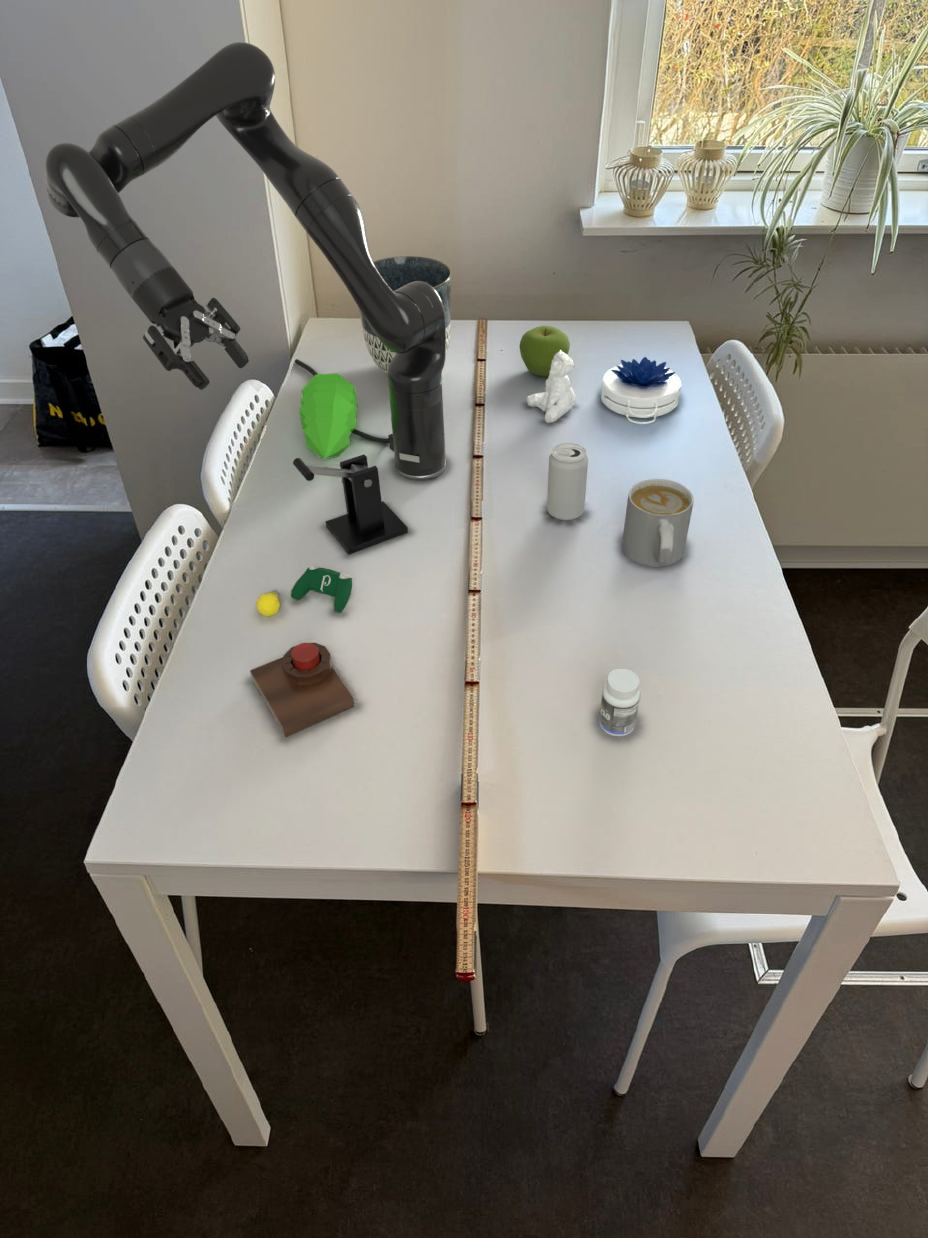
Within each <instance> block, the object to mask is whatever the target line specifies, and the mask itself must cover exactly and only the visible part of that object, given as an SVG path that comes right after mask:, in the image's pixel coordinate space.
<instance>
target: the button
mask: <svg viewBox="0 0 928 1238" xmlns="http://www.w3.org/2000/svg"><path fill="white" fill-rule="evenodd" d="M311 643H312V642H302V644H301V643H298V644H297V646H296V645H295V646H296V647H295V648H294V649H293V650H292V653H291V655H292V660H293V664H294V666H295V667H296V668H297V669H299V670H310V669H312V668H314V667H316V666H317V665H318V663H319V661H320V657H319V652H318V648H317V647H316V646H315V645H314V644H311Z"/></svg>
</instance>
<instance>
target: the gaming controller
mask: <svg viewBox="0 0 928 1238" xmlns="http://www.w3.org/2000/svg"><path fill="white" fill-rule="evenodd" d="M290 591H291V592H290V597H291V599H293V600H296V601H299V600H302V599H303V598H304V597H305V596H306V595H307V594H308V593H310V592H311V591H312V592H313V591H314V592H316V593H320V594H323V595H326V596H329V597H332V598H334V599H333V609H334V612H335V613H338V614H341V613H342V612H343V611H344V610H345V608H346V607H347V604H348V602H349V600H350V598H351V595H352V591H353V578H352V576H351V575H349V574H348V573H343V572H339V571H336V570H333V569H330V568H326V567H320V566H319V565H317V564H311V563H310V564H309V565H308V567H307V568H306V570H305V571H304V572H303V574H302V575H301V576H299V578H298V579H297V581H295V584H294V585H293V586H292V589H291V590H290Z"/></svg>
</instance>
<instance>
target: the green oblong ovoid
mask: <svg viewBox="0 0 928 1238" xmlns="http://www.w3.org/2000/svg"><path fill="white" fill-rule="evenodd" d="M317 374H318V373H317ZM356 391H357V390H356V386H355V385H354V384H353V383H351V381H349V380H348V379H346V378H345V377H343V376H342V375H341V374H339V372H335V373H321V374H318V375H314V376H312V377H311V378H310V380H309V381H308V382H307V383H306V384H305V386H304V387H303V388H302V389H301V394H302V395H301V396H302V397H301V398H300V404H301V405H300V406H299V408H298V410H299V416H300V422H301V429H302V431H303V434H304V440H305V441H304V442H305V447H306V448H307V449H308V450H310V451H311V452H313V453H314V454H315V455H317V456H318V457H319V458H322V459H325V460H326V459H331V458H338V457H340V456H341V455H342V454H343V453H344V451H346V449H348V447H349V446H350V445H351V440H350V436H351V434H352V431H353V430H354V429H357V427H358V425H357V417H358V411H357V408H358V400H357V392H356Z"/></svg>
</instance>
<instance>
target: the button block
mask: <svg viewBox="0 0 928 1238" xmlns="http://www.w3.org/2000/svg"><path fill="white" fill-rule="evenodd" d="M302 643H303V642H302ZM302 643H300V644H302ZM310 643H311V644H314V645H315V646H316V647H317V648H318V652H319V657H320V661H319V663H318V665H317V666H316V667H314V668H312V669H310V670H299V669H297V668H296V667H295V666H294V664H293V660H292V655H291V653H292V650H293V649H294V648H295V647H296V646H297V645H298V644H297V645H293V646H291V647H290V648H289V649H288V650H287V651H286V652H285V653H284V654H283V655H282V657H279V658H277V659H275V660H272V661H270V662H267V663H265V664H262V665H259V666H257V667H254V668H252V669H250V670H249V672H250V675H251V679H252V682H253V683H254V686H255V687H256V689H257V691H258V692H259V694H260V696H261V697H262V700H263V701H264V703H265V705H266V706H267V709H268V710H269V711H270V714H271V716H272V717H273V719H274V720H275V722H276V724H277V725H278V727H279V730H280V731H281V732H282V734H283V736H284V737H285V738H288V737H289V736H292V735H295V734H297V733H298V732H301V731H303V730H306V729H308V728H311V727H312V726H314V725H315V726H316V725H317V724H319V723H321V722H324V721H326V720H328V719H330V718H333V717H335V716H337V715H340V714H341V713H344V712H346V711H348V710H351V709H354V708H355V702H354V697H353V695H352V693H351V691H350V690H349V689H348V687H347V686H346V684H345V683H344V682H343V680H342V678H341V677H340V675H339V673H338V672H337V671H336V669H335V667H333V660H332V655H331V653H330V651H329V650H328V648H327V647H326V645H322V644H320V643H317V642H310Z"/></svg>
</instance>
